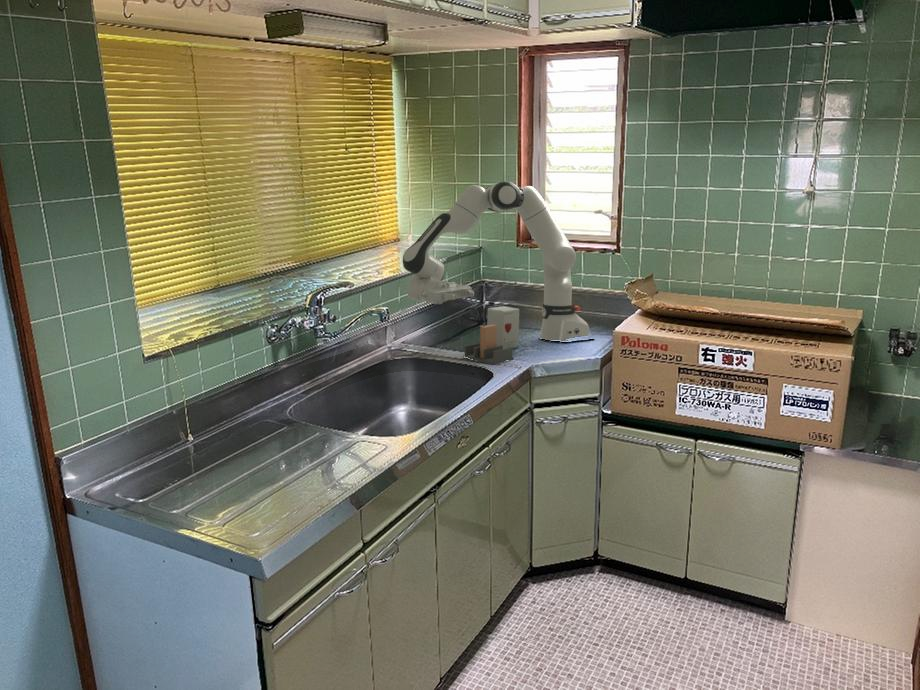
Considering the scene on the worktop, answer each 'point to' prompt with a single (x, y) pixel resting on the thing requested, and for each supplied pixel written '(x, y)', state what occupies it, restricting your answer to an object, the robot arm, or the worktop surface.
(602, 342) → the worktop surface
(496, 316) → the supplement box
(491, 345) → the tile
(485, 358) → the dish rack
